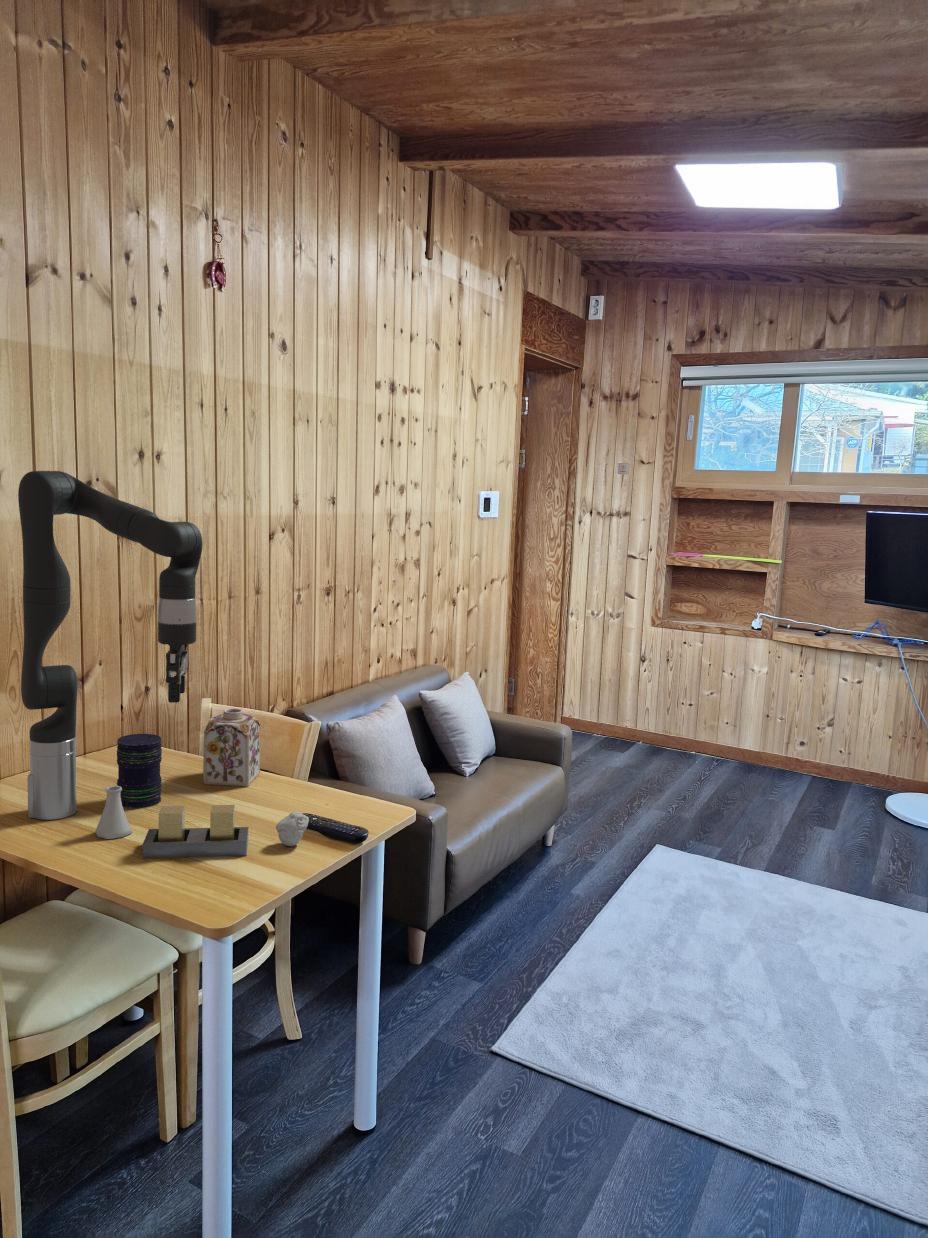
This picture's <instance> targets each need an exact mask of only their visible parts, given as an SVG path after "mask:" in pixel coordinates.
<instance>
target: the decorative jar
mask: <svg viewBox="0 0 928 1238" xmlns="http://www.w3.org/2000/svg"><path fill="white" fill-rule="evenodd" d="M202 759H203V761H202V762H203V766H202V773H203V774H202V777H203V778H202V780H203V784H204V785H211V786H213V785H214V786H227V787H228V786H230V787H245V788H247V787H249V786H250V785H251V784H252V783H253V781H254V780H256V778H257V777H258V775H259V774H260V773H261V723H260V722H259V721H258V719H257V718H256V717H255V716H253V715H251V714H248V713H243V710H242V709H239V708H232V707H231V708H226V709H225V708H224V710H223V713H222V714H221V713H220V714H217V715H214V716H212V717H211V718H209V720H208V722H207V725H206V726H205V729H204V731H203V758H202Z"/></svg>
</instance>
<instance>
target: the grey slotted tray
mask: <svg viewBox="0 0 928 1238" xmlns="http://www.w3.org/2000/svg"><path fill="white" fill-rule="evenodd" d="M248 846H249V826H236V827H235V826H234V840H225V841H210V827H191V828H188V827H186V828H185V840H184V842H159V828H148V830H147V833H146V835H145V838H144V840H143V842H142V859H166V858H167V859H168V858H169V859H171V858H176V859H177V858H203V857H204V858H207V857H211V858H213V857H239V856H240V857H241V856H248V855H247V853H248Z"/></svg>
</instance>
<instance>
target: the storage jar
mask: <svg viewBox="0 0 928 1238" xmlns="http://www.w3.org/2000/svg"><path fill="white" fill-rule="evenodd" d="M116 742H117V743H116V745H117V746H116V749H117V750H116V758H117V759H116V764H117V765H118V771H117V772H118V776H117V777H118V778H117V780H116V786H121V788H122V791H121V792H120V797H121V803H122V807H123V809H124V808H125V809H145V808H151V807H154V806H156V805H158V804H160V803H161V801H162V796H161V795H162V788H163V787H162V782H163V781H162V780H163V779H162V777H161V763H162V758H163V757H162V754H163V752H162V750H163V749H162V737H161V735H158V734H157V735H156V734H151V733H135V734H134V733H132V734H126V735H123V736H120V737H118V738H117V741H116Z"/></svg>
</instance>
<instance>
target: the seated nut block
mask: <svg viewBox="0 0 928 1238" xmlns="http://www.w3.org/2000/svg"><path fill="white" fill-rule="evenodd" d="M185 806H186V805H161V807H160V809H159V811H158V829H159V842H184V840H185V823H186V822H185V820H186V819H185V816H186V815H185V812H186V811H185V810H186V809H185V808H186V807H185Z"/></svg>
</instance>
